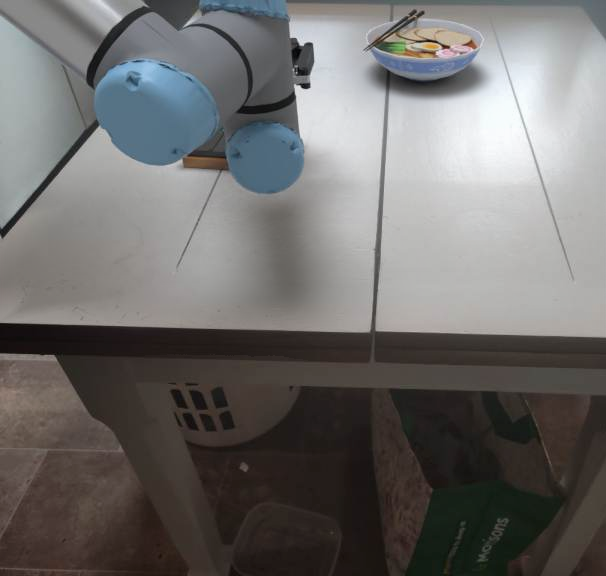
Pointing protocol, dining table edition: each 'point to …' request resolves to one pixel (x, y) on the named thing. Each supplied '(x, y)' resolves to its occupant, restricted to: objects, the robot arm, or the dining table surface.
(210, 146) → the whetstone on wooden base
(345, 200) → the dining table surface
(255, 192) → the robot arm
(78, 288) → the dining table surface
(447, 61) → the ramen bowl
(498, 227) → the dining table surface
